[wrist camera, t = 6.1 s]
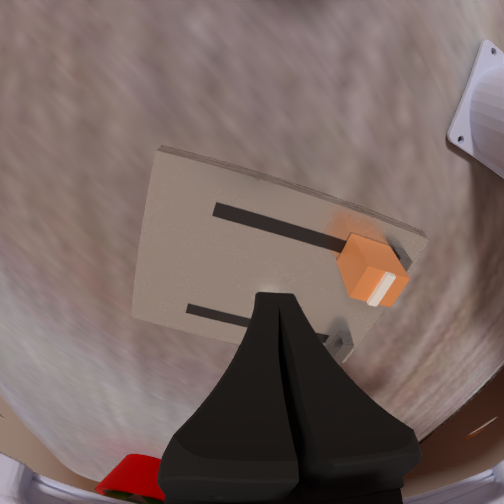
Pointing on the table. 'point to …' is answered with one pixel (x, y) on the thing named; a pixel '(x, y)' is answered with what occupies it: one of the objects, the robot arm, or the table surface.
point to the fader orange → (371, 271)
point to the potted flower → (134, 481)
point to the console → (252, 251)
